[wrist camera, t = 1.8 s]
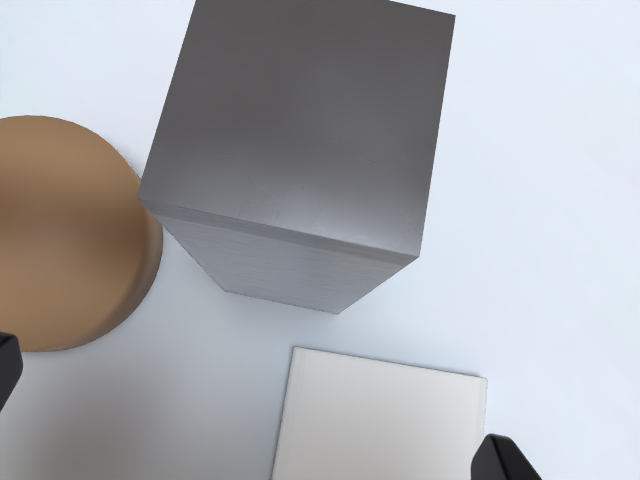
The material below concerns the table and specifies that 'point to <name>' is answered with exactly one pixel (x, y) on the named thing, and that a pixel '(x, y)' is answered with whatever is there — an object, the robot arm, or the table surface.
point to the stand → (69, 235)
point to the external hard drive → (377, 420)
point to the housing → (301, 144)
